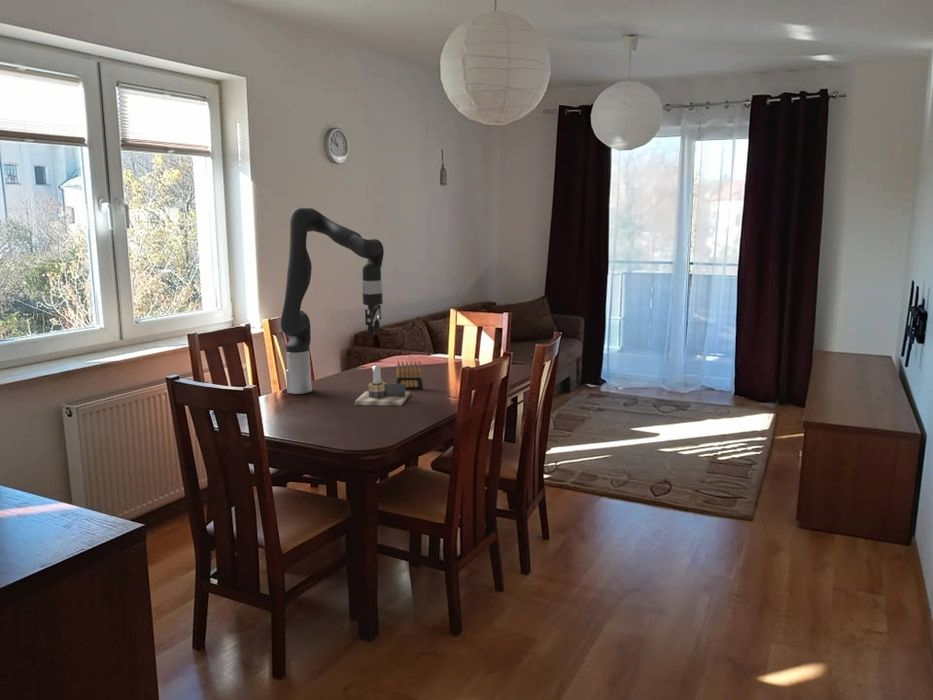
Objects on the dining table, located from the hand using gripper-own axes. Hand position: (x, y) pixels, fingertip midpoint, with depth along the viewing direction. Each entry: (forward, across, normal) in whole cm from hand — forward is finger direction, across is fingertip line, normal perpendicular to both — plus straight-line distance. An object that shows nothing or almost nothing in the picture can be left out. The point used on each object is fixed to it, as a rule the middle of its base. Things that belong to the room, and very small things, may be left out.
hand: (374, 333), depth 283 cm
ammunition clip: (+26, -17, +10) cm, 33 cm away
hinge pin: (+25, +1, +1) cm, 25 cm away
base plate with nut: (+26, +1, +3) cm, 26 cm away
